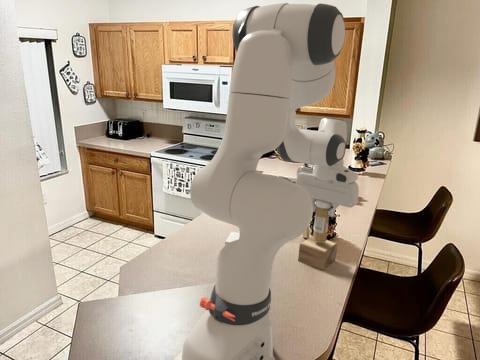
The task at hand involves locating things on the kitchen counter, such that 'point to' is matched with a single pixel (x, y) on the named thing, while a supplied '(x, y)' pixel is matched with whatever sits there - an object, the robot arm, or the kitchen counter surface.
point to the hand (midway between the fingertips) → (322, 213)
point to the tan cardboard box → (317, 253)
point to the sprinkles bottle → (321, 221)
